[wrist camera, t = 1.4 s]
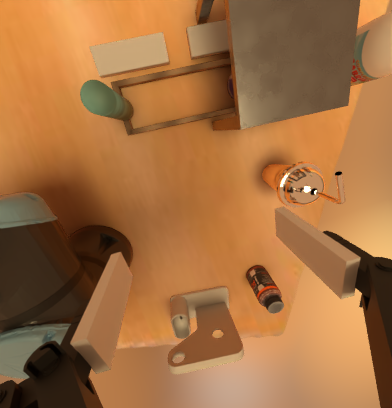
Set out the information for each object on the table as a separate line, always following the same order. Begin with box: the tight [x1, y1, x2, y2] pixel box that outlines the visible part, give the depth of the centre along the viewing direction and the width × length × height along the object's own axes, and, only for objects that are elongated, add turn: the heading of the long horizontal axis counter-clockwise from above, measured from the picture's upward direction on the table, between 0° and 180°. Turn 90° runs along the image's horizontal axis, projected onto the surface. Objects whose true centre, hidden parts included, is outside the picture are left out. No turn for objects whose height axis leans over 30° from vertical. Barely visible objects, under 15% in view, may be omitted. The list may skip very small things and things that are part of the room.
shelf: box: [195, 0, 360, 130], centre depth 26 cm, size 14×18×16 cm
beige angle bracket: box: [168, 286, 244, 374], centre depth 46 cm, size 17×10×18 cm, turn 97°
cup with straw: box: [262, 162, 345, 207], centre depth 33 cm, size 8×9×20 cm
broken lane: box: [90, 20, 230, 78], centre depth 28 cm, size 29×4×7 cm, turn 102°
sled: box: [80, 58, 236, 135], centre depth 28 cm, size 29×9×13 cm, turn 102°
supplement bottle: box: [247, 266, 284, 314], centre depth 48 cm, size 6×6×11 cm
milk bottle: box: [350, 11, 392, 86], centre depth 26 cm, size 8×8×20 cm
